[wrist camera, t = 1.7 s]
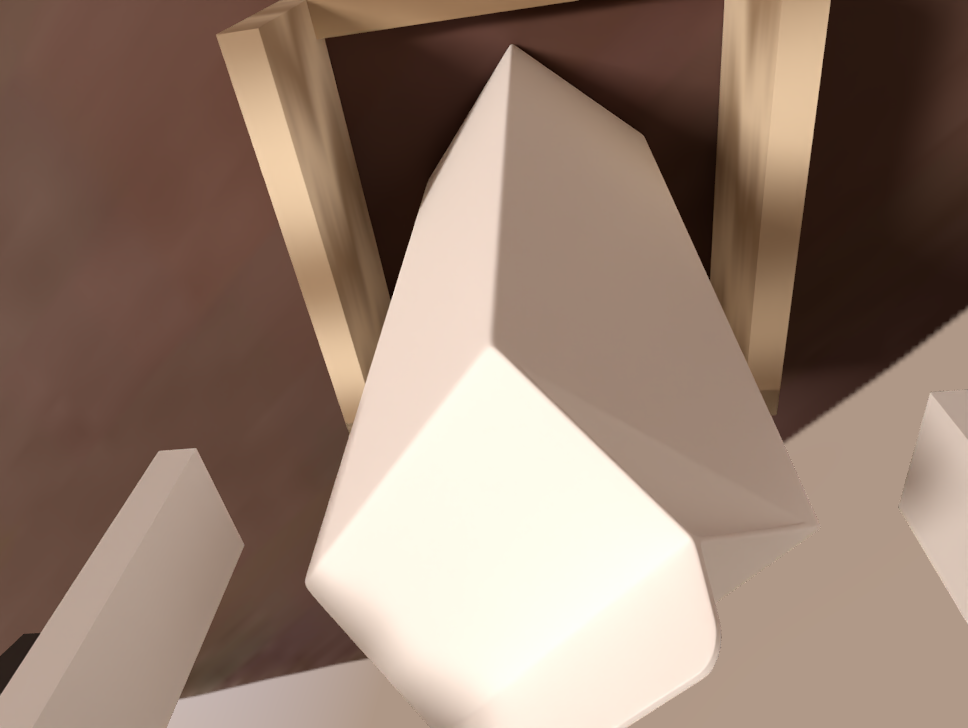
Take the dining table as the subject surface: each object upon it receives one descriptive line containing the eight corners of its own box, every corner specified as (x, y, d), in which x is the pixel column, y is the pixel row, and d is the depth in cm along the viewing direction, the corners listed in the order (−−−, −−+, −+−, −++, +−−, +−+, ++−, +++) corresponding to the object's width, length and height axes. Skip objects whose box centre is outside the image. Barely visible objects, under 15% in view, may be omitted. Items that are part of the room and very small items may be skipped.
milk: (645, 134, 26) (944, 748, 8) (550, 258, 29) (606, 902, 11) (507, 38, 24) (481, 541, 6) (422, 181, 27) (237, 794, 9)
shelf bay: (279, 0, 24) (216, 34, 19) (767, -76, 22) (838, -61, 17) (379, 359, 32) (353, 446, 27) (735, 326, 30) (776, 415, 25)
